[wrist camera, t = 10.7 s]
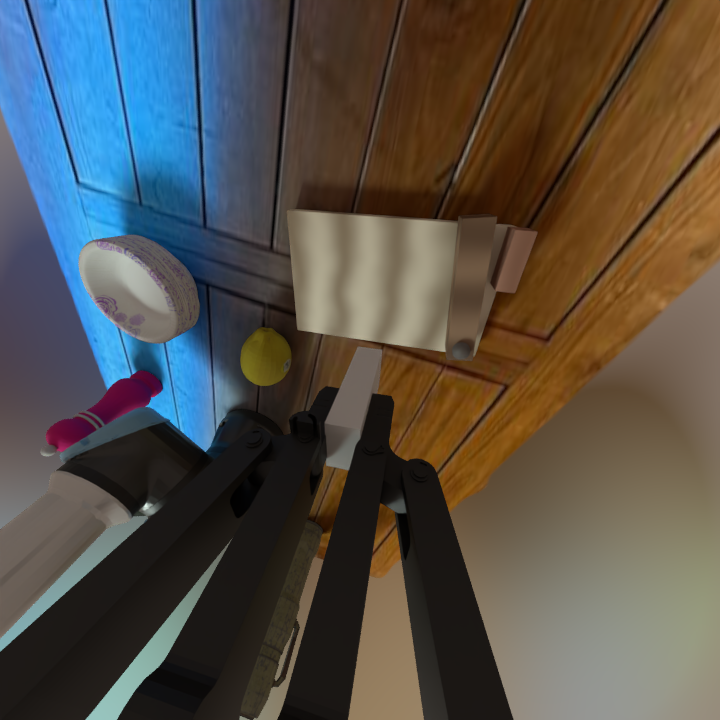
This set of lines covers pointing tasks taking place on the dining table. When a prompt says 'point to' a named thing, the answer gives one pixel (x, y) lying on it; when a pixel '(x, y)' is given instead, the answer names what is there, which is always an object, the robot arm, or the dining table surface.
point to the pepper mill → (103, 411)
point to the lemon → (265, 357)
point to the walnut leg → (468, 283)
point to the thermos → (281, 626)
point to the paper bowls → (140, 287)
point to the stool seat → (389, 275)
